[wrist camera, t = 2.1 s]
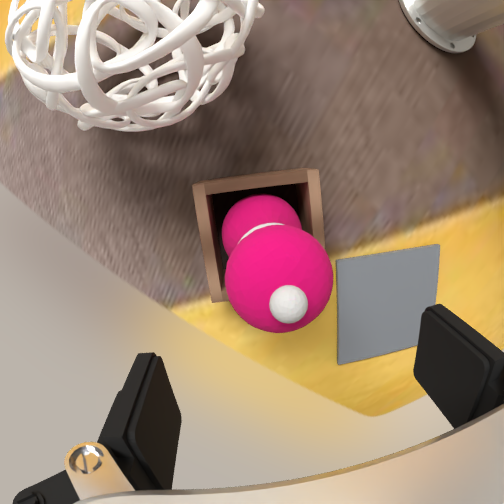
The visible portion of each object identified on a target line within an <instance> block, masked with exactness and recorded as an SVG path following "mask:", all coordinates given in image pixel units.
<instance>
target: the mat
mask: <svg viewBox="0 0 504 504" xmlns="http://www.w3.org/2000/svg"><path fill="white" fill-rule="evenodd" d="M439 256H440V245H439V244H434V245H428V246H422V247H415V248H409V249H403V250H397V251H391V252H384V253H378V254H371V255H365V256H358V257H352V258H345V259H339V260H336V284H337V363H338V365H340V364H345V363H349V362H354V361H358V360H363V359H367V358H371V357H375V356H379V355H383V354H387V353H391V352H395V351H398V350H402V349H406V348H409V347H413V346H416V345H418V339H419V331H420V323H421V315H422V313H423V312H424V311H425V309H426V308H427V307H429V306H433V305H435V302H436V293H437V283H438V271H439Z"/></svg>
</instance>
